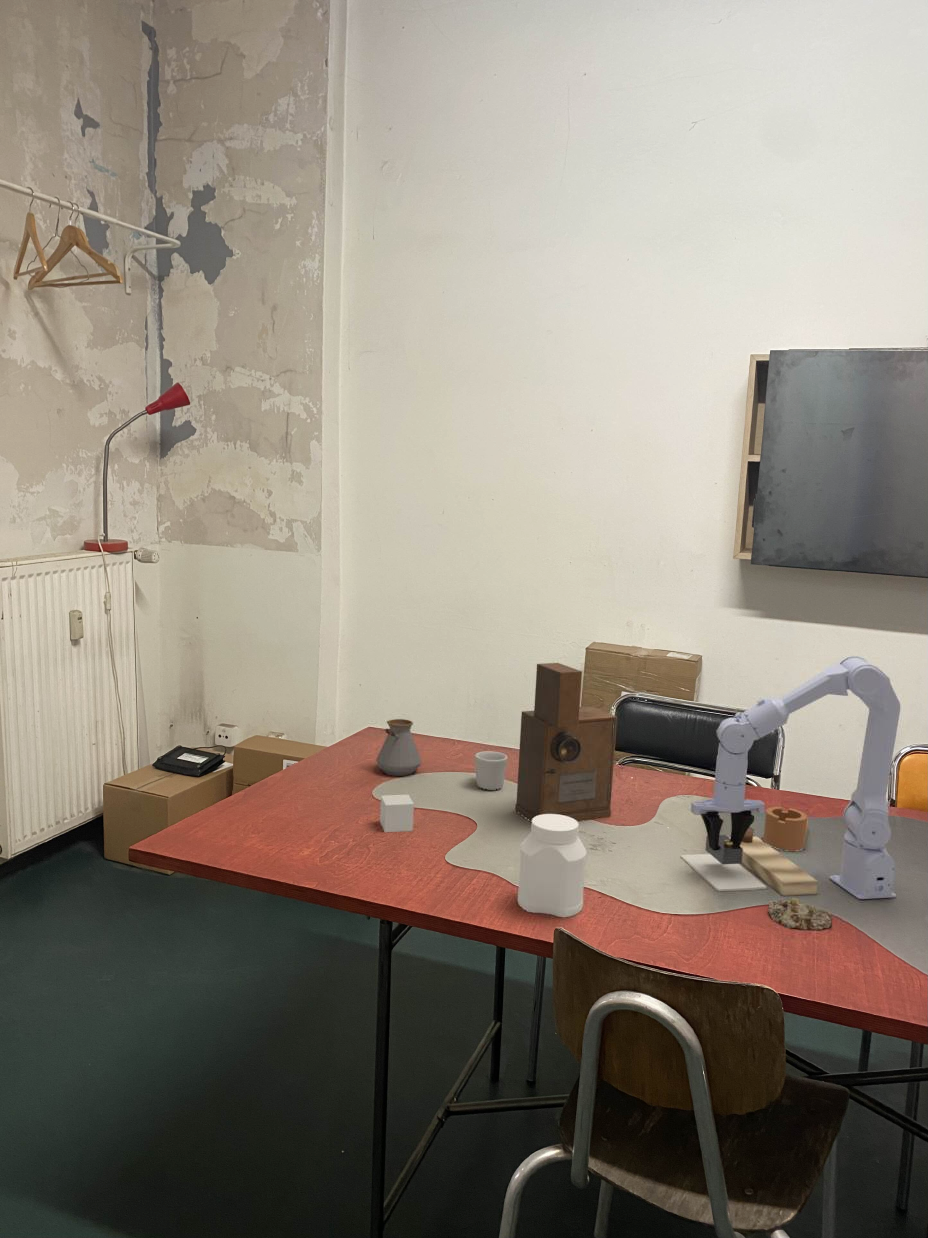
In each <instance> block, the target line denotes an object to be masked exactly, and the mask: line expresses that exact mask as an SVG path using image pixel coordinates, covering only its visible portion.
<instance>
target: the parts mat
mask: <svg viewBox="0 0 928 1238" xmlns="http://www.w3.org/2000/svg"><path fill="white" fill-rule="evenodd" d="M679 857H680V858H681V859H682V860H683V861H684V862H685V861H686V862H687V863H688V864H689V865H688V864H687V863H686V862H685V863H686V864H687V865H688V866H690V868H692V869H693V870H694V871H695V872H696V873H697V874H698V875H699V876H700V877H701V878H702V879H703V880H705V881H706V882H707V883H708V884H709V885H710V886H711V887H712V888H714V889H715V890H716V891H717V892H733V891H734V892H736V891H751V890H752V891H755V890H767V889H768V886H766V885H765V884H764V883H763V882H761V881H760V879H758V878H757V877H756V876H754V875H753V874H752V873H751V872H749V871H748V870H747V869H745V867H743V866H742V865H741V864H723V865H722V864H721V863H720V862H719V861H718V860H717V859H715V858H714V857H713V856H712V855H711V854H709V853H704V854H702V853H699V854H680V856H679Z"/></svg>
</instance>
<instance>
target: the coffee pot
mask: <svg viewBox="0 0 928 1238" xmlns="http://www.w3.org/2000/svg"><path fill="white" fill-rule="evenodd" d="M386 723H387V726H388V727H389V728H385V729H383V730H382V731H381V736H382V737H384V738H385V739H384V742H383V745H382V747H381V749H380V751H379V753H378V755H377V756H376V760H375V761H376V764H377V765H378V767H379V769H381V770H382V771H383V773H385V774H386V775H390V776H395V777H397V776H398V777H399V776H401V777H402V776H403V777H404V776H410V775H412V774H413V773H414V772H415V771H416V770H417V769H419V768H420V766H421V764H422V758H421V755H420V753H419V749H418V747H417V745H416V742H415V740H414V737H413V734H412V732H411V729H412V726H413V725H414V722H413V721H412V720H409V719H403V718H398V719H397V718H396V719H389V720H387V721H386ZM383 731H385V733H387V736H386V737H385V735H383V734H382V733H383Z"/></svg>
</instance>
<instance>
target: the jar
mask: <svg viewBox="0 0 928 1238" xmlns="http://www.w3.org/2000/svg"><path fill="white" fill-rule="evenodd" d="M579 826H580V824H579V821H578V822H577V821H576V820H575V819H573V818H571V817H568V816H564V815H558V814H543V815H538V816H536V817H534V818H533V819H532V823H531V826H530V827H531V828H530V830H531V831H530V832H529V834H528V835H527V836H526V838H525V839H524V840H523V841H522V843H521V844H520V863H519V879H518V880H519V881H518V890H517V903H518V905H519V907H522V908H521V909H522V910H524V911H525V910H526V912H528V913H531V912H532V914H533V913H534V914H544V915H550V914H551V915H550V916H554V915H555V916H554V917H559V918H570V917H572V916H576V915H577V914H579V913H580V912H581V911H582V909H583V908H584V886H585V873H586V872H585V871H586V870H585V869H586V860H587V849H586V848H585V845H584V844H583V842H582V841H581V839H580V837H579Z"/></svg>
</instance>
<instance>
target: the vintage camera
mask: <svg viewBox="0 0 928 1238" xmlns="http://www.w3.org/2000/svg"><path fill="white" fill-rule="evenodd" d="M535 677H536V678H535V690H534V691H535V693H534V706H533V708H534V710H526V711H525V710H523V711H521V717H520V720H521V721H520V731H519V732H520V735H519V736H520V737H519V753H518V754H519V755H518V768H517V769H518V770H517V789H516V802H515V805H514V806H515V807H514V808H515V809H514V811H515V810H516V811H517V812H519V813H520V814H521V815H523V816H524V817H526V818H527V819H529V820H530V821H532V819H533V818H534V817H536V816H538V815H543V814H558V815H564V816H568V817H571V818H573V819H575V820H576V821H578V822H583V820H584V821H585V822H586V821H591V820H598V819H604V818H605V819H606V818H611V817H612V809H611V807H612V806H611V804H612V793H613V792H612V791H613V777H614V765H615V764H614V762H615V752H616V751H615V750H616V735H617V723H618V716H617V715H614V714H612V713H609V712H606V711H604V710H602V709H599V708H597V707H594V706H592V705H591V706H590V705H589V706H580V705H581V695H582V694H581V693H582V678H583V671H582V670H579V669H576V668H574V667H571V666H568V665H565V664H562V663H560V662H545V663H536V675H535ZM517 812H516V813H517ZM520 814H519V815H520ZM521 815H520V816H521ZM523 816H522V817H523ZM524 817H523V818H524ZM527 819H526V820H527ZM530 821H529V822H530Z"/></svg>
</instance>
